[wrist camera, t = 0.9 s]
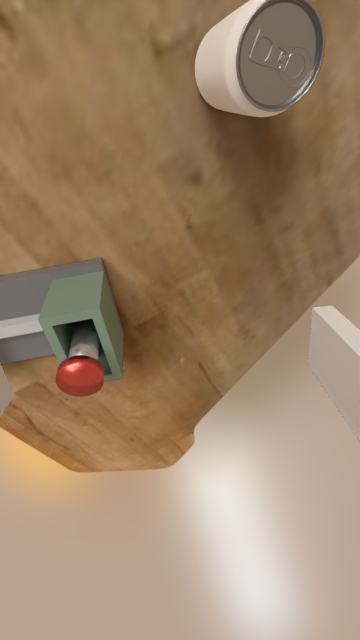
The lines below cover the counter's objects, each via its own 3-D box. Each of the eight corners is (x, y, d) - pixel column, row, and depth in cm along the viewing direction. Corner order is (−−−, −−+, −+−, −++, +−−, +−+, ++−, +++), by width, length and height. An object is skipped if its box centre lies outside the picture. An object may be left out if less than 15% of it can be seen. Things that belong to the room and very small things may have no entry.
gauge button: (63, 312, 36) (48, 369, 29) (101, 305, 36) (96, 360, 29) (75, 341, 39) (64, 400, 31) (111, 334, 39) (108, 391, 32)
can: (243, 121, 32) (296, 134, 22) (183, 94, 30) (212, 96, 20) (275, 41, 28) (353, 15, 19) (210, 4, 26) (260, -46, 17)
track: (-113, 295, 37) (-174, 349, 29) (101, 257, 38) (96, 299, 30) (-54, 367, 44) (-91, 426, 36) (124, 334, 45) (124, 384, 37)
